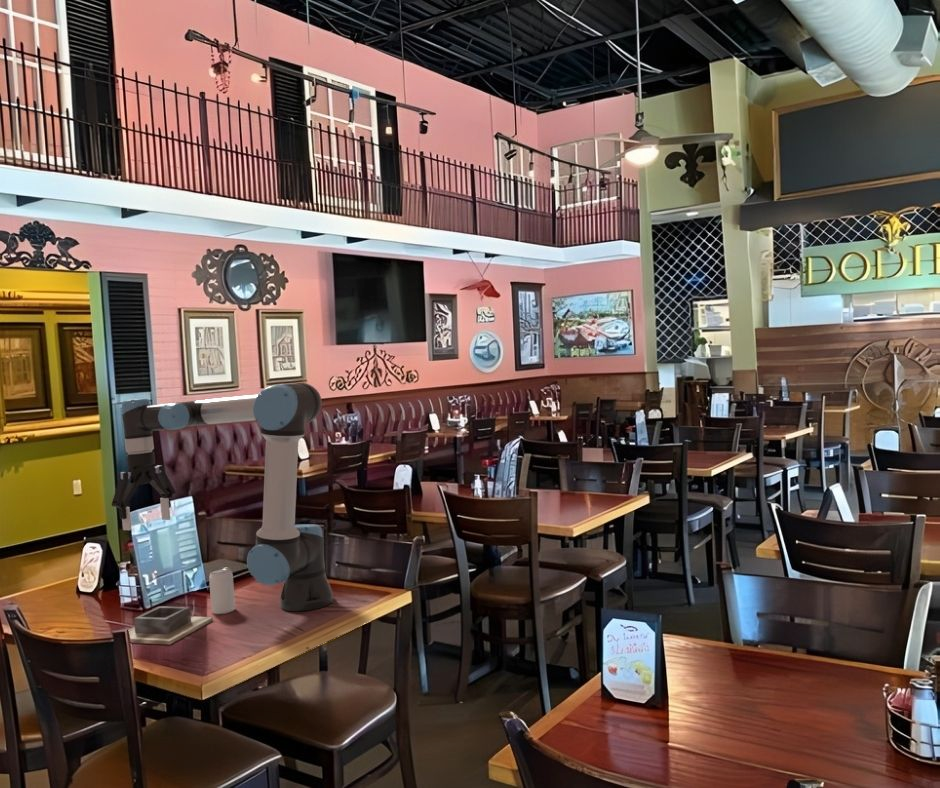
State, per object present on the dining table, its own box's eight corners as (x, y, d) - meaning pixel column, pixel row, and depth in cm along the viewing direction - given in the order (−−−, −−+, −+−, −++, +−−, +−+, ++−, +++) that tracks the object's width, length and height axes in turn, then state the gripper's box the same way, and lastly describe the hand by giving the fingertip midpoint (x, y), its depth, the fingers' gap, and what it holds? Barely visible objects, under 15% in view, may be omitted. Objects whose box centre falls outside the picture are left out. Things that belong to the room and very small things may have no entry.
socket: (212, 620, 214) (211, 603, 213) (169, 644, 196) (168, 625, 196) (158, 618, 219) (157, 601, 219) (112, 641, 202) (110, 622, 201)
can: (238, 607, 225) (235, 566, 224) (229, 614, 218) (226, 572, 218) (217, 608, 225) (214, 567, 225) (208, 615, 219) (204, 573, 218)
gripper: (166, 446, 236) (172, 515, 236) (93, 458, 214) (100, 534, 214) (183, 446, 232) (190, 515, 233) (111, 458, 210) (118, 534, 211)
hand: (147, 524), depth 224 cm, fingers open, 13 cm apart
